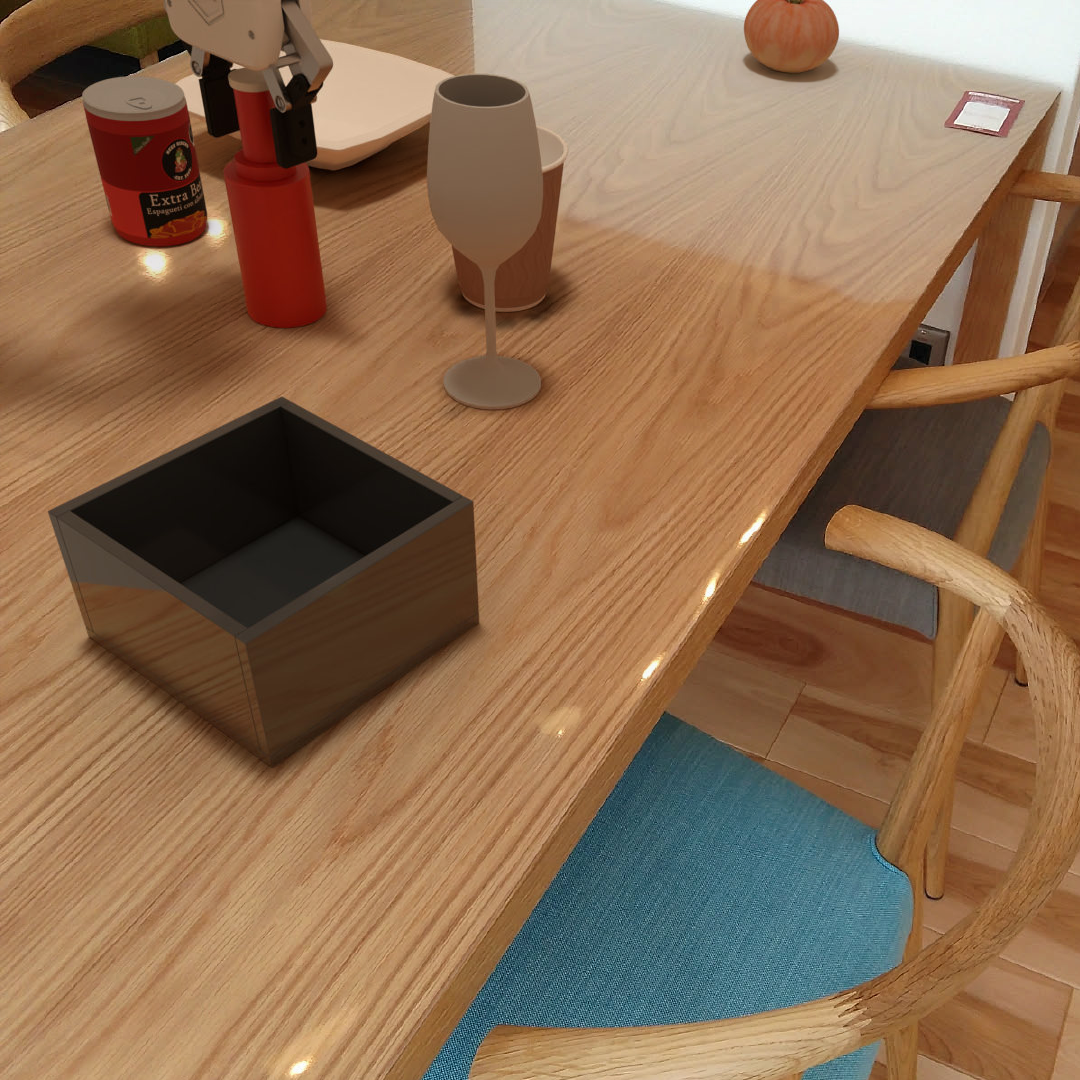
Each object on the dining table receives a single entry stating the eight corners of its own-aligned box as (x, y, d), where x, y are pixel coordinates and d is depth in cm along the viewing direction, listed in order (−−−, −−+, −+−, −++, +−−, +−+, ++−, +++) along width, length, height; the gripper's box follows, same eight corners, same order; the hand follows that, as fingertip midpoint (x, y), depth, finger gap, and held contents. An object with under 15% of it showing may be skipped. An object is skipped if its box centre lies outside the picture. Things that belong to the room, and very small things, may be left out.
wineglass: (565, 384, 98) (567, 93, 83) (491, 423, 93) (480, 123, 79) (493, 346, 101) (483, 60, 86) (419, 382, 96) (395, 86, 82)
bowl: (494, 140, 129) (492, 80, 125) (345, 224, 114) (338, 158, 110) (312, 87, 136) (304, 28, 132) (147, 159, 120) (134, 95, 116)
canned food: (160, 257, 107) (130, 120, 99) (92, 229, 110) (58, 93, 102) (230, 226, 112) (206, 93, 104) (163, 199, 114) (135, 68, 107)
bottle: (231, 309, 102) (188, 73, 90) (291, 283, 106) (257, 53, 93) (283, 336, 100) (246, 98, 87) (342, 309, 103) (315, 76, 91)
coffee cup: (587, 281, 110) (590, 137, 101) (531, 335, 102) (529, 184, 94) (478, 252, 112) (473, 108, 104) (416, 302, 105) (404, 153, 96)
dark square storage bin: (88, 636, 74) (46, 510, 68) (301, 515, 84) (281, 395, 78) (272, 768, 68) (245, 643, 62) (479, 622, 78) (473, 501, 72)
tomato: (741, 46, 155) (748, -28, 149) (831, 55, 155) (842, -18, 149) (739, 79, 147) (747, 2, 141) (835, 88, 147) (846, 11, 142)
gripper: (80, -163, 82) (141, 125, 95) (265, -101, 76) (305, 200, 88) (179, -177, 87) (225, 100, 99) (362, -120, 80) (387, 169, 93)
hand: (262, 145), depth 94 cm, fingers open, 6 cm apart
